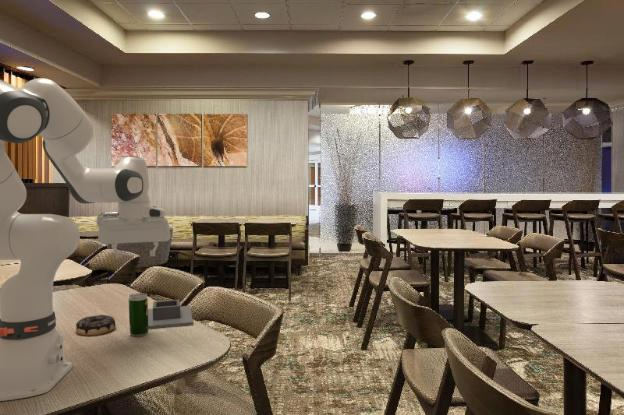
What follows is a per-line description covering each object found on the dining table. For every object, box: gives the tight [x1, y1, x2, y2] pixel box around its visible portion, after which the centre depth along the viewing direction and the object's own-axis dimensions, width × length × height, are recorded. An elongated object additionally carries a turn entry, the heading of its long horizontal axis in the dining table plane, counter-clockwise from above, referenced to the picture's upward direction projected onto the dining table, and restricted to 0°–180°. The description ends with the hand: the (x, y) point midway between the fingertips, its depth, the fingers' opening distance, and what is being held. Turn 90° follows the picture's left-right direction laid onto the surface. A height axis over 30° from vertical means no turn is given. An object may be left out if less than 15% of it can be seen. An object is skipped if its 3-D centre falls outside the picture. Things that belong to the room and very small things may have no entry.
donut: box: [75, 314, 116, 337], centre depth 150 cm, size 11×12×4 cm
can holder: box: [148, 299, 194, 330], centre depth 162 cm, size 20×16×5 cm
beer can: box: [128, 292, 150, 338], centre depth 146 cm, size 5×5×12 cm
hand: (136, 257), depth 145 cm, fingers open, 8 cm apart
